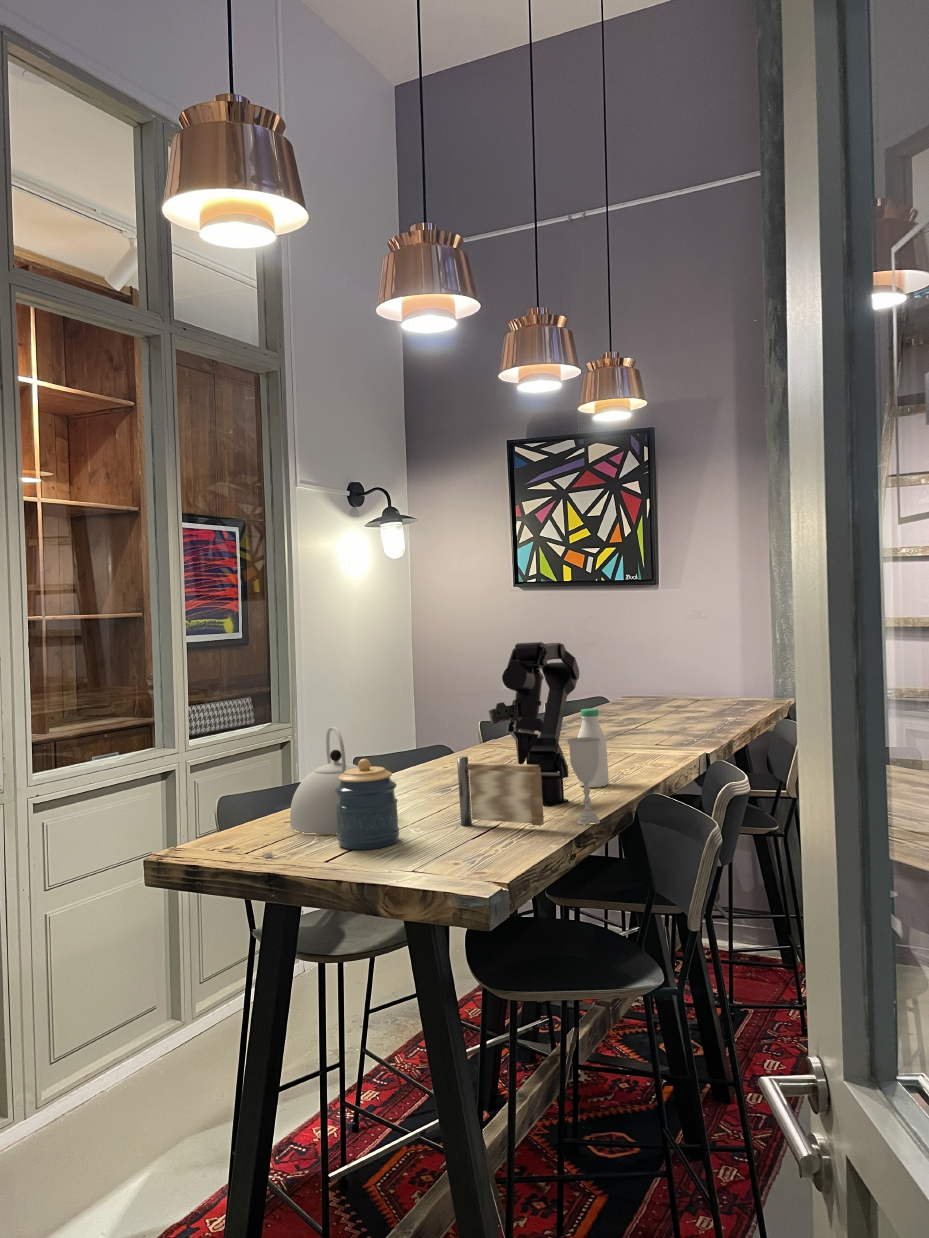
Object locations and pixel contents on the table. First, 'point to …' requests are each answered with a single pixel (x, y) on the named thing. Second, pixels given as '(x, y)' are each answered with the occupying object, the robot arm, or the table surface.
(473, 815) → the gate
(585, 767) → the chalice
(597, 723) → the milk bottle
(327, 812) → the kettle
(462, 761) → the hinge post
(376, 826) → the canister
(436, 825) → the table surface
